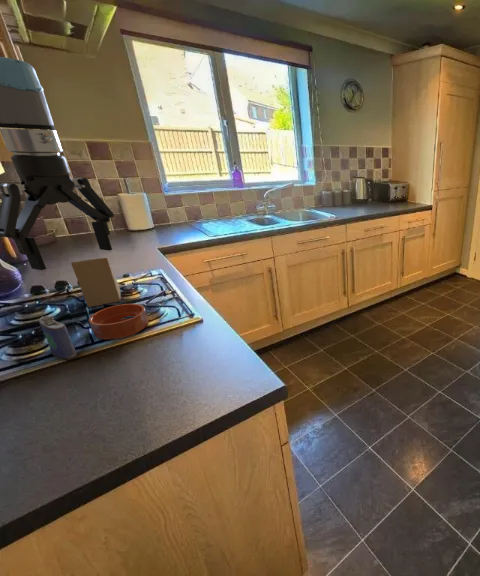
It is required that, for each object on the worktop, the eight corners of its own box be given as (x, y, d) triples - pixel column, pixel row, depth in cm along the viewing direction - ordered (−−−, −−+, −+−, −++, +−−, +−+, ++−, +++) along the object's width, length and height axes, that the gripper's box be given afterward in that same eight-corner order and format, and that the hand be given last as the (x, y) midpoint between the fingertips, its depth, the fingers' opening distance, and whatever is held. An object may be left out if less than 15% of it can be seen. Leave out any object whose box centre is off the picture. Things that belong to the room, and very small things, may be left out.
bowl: (83, 337, 88) (76, 320, 86) (125, 315, 99) (120, 301, 97) (119, 344, 85) (114, 328, 83) (159, 322, 96) (155, 307, 94)
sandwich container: (120, 284, 118) (107, 244, 112) (121, 300, 107) (107, 257, 101) (89, 290, 113) (74, 248, 107) (87, 307, 102) (70, 262, 96)
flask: (80, 356, 80) (64, 318, 76) (65, 362, 78) (47, 323, 73) (61, 345, 84) (45, 308, 80) (47, 351, 82) (29, 313, 77)
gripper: (-38, 157, 51) (18, 281, 60) (115, 153, 73) (140, 244, 82) (-72, 154, 53) (-12, 276, 61) (89, 152, 75) (116, 241, 84)
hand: (75, 258), depth 72 cm, fingers open, 13 cm apart
